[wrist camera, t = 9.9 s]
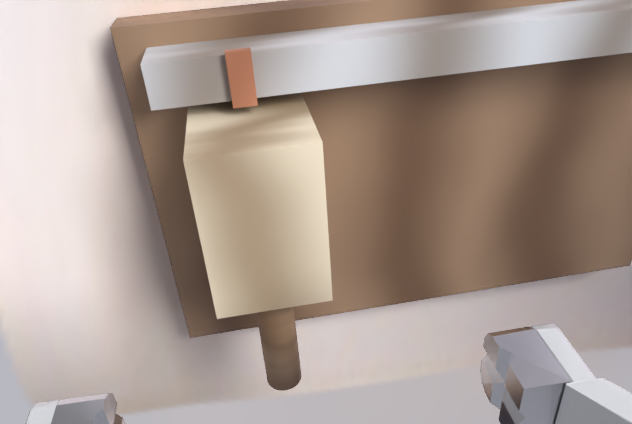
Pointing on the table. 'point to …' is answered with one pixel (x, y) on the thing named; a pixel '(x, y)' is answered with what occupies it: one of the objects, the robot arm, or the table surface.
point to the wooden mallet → (261, 217)
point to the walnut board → (409, 136)
